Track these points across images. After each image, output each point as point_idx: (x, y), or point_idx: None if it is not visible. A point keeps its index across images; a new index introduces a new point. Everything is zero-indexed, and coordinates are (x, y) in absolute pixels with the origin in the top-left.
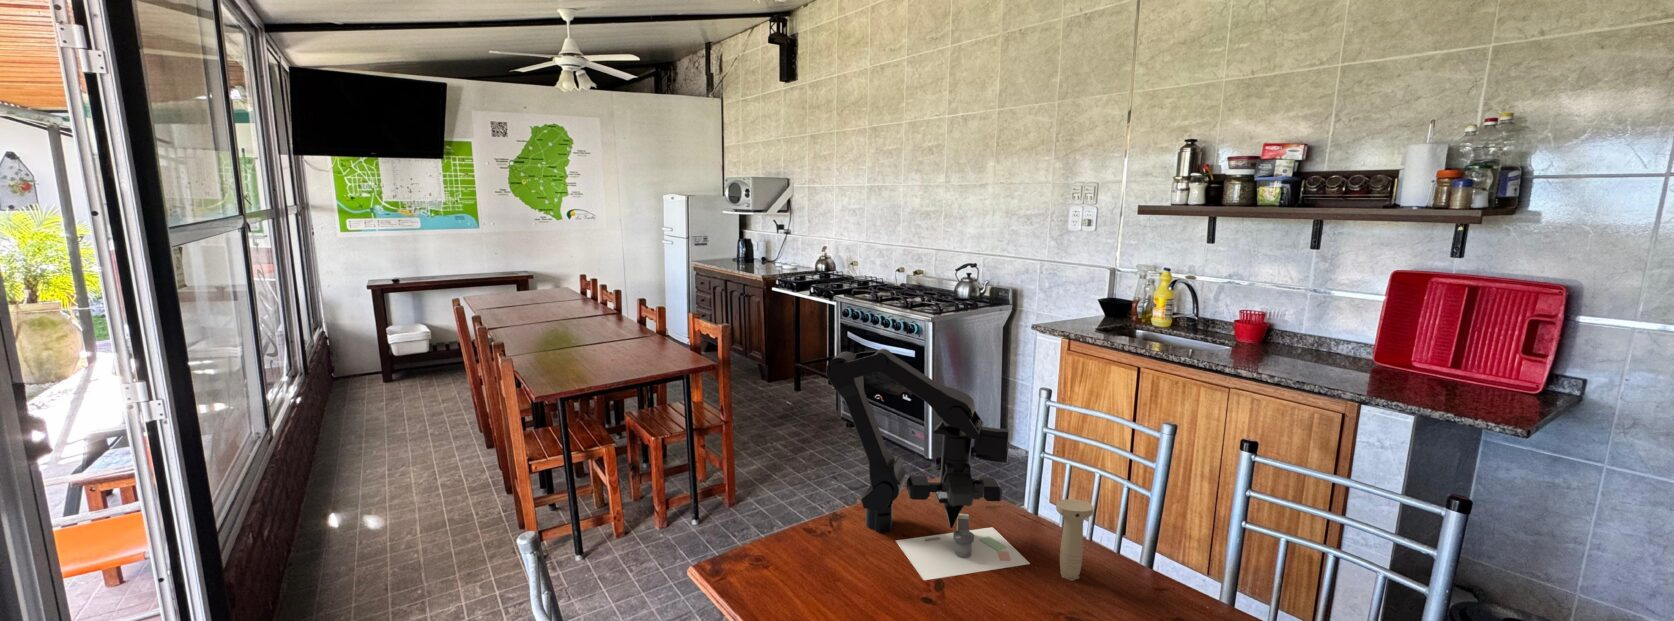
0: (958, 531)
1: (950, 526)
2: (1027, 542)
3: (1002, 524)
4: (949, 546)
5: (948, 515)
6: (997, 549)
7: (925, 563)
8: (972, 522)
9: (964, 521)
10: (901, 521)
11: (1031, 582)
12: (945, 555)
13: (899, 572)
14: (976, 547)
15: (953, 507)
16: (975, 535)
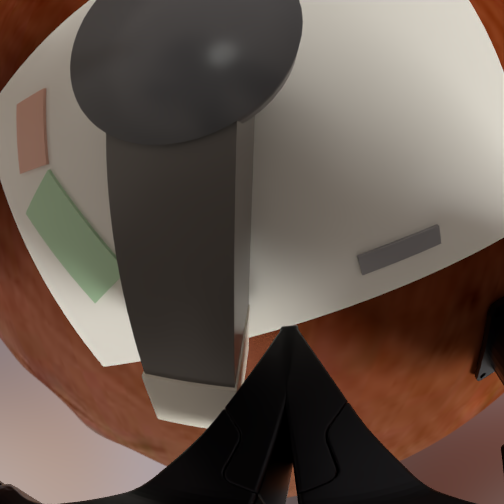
0: (231, 96)
1: (297, 329)
2: (16, 285)
3: (98, 385)
4: (308, 166)
5: (336, 397)
6: (48, 179)
7: (432, 1)
8: None
9: (170, 346)
10: (442, 381)
11: (12, 36)
12: (337, 53)
13: (492, 16)
14: None
15: (274, 484)
16: None
